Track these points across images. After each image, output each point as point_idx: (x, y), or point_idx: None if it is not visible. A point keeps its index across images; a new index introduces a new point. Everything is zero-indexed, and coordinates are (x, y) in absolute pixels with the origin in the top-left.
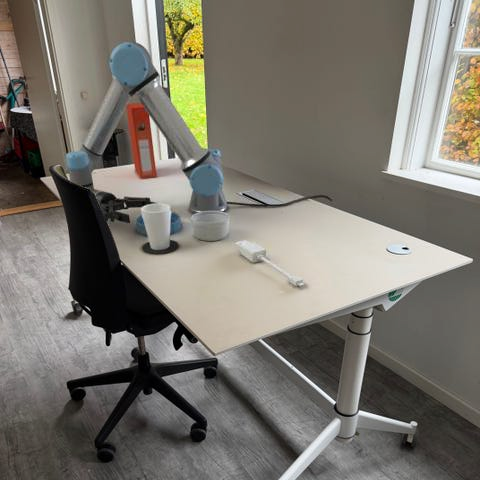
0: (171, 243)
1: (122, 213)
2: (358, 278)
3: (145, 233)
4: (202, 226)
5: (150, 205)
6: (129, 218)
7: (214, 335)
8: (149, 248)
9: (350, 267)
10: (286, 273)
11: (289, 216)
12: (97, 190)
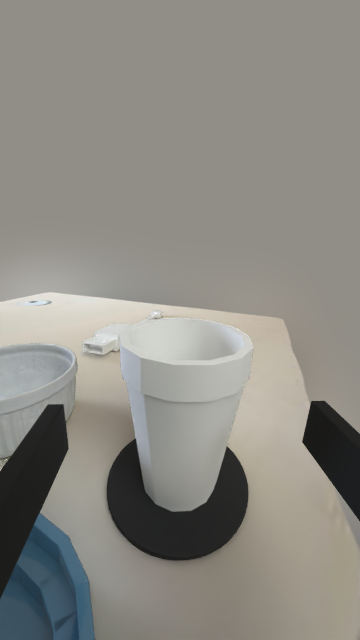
0: (137, 460)
1: (355, 437)
2: (117, 306)
3: None
4: (77, 368)
5: (168, 362)
6: (308, 419)
7: (273, 321)
8: (221, 488)
9: (97, 309)
10: (149, 317)
11: None
12: None
